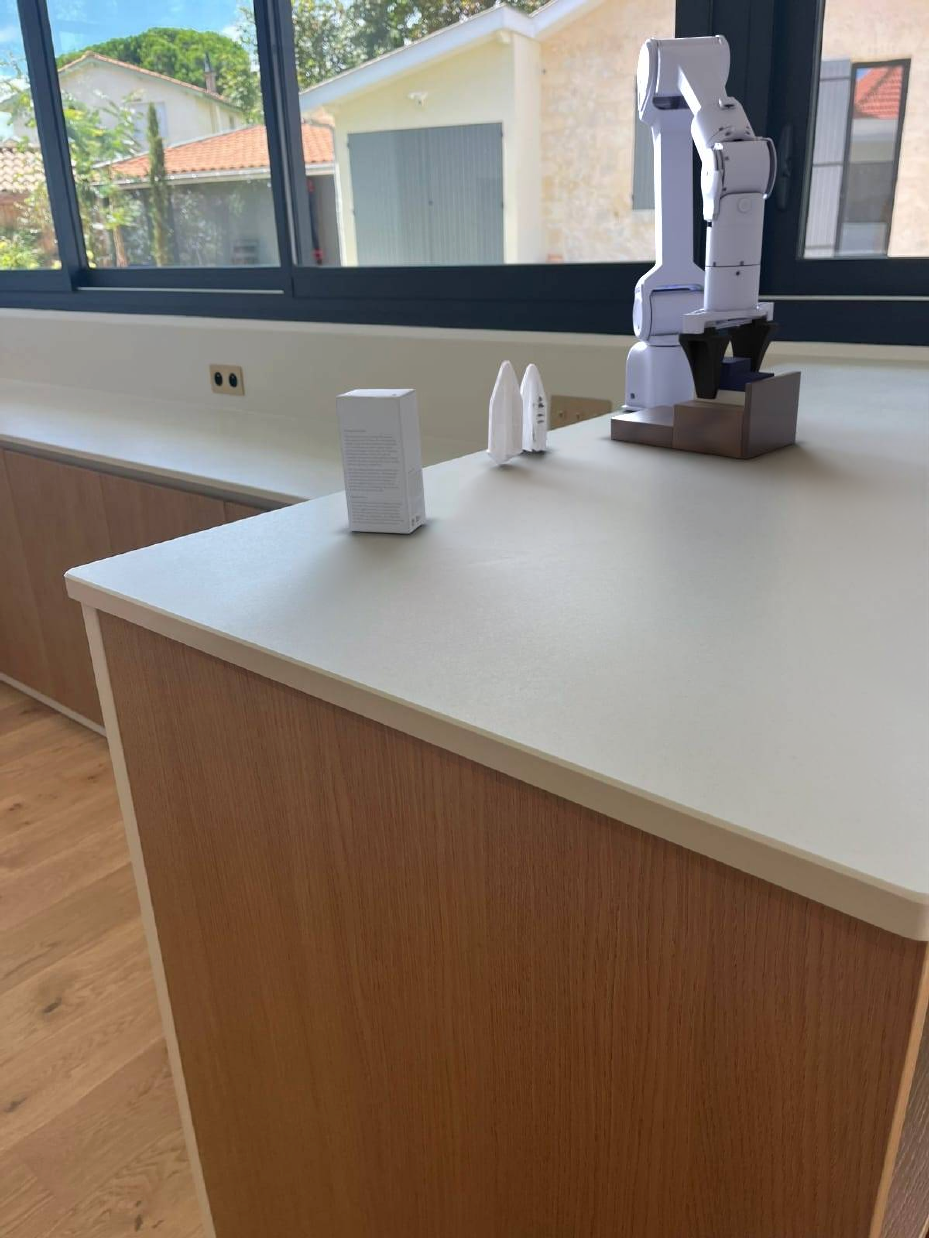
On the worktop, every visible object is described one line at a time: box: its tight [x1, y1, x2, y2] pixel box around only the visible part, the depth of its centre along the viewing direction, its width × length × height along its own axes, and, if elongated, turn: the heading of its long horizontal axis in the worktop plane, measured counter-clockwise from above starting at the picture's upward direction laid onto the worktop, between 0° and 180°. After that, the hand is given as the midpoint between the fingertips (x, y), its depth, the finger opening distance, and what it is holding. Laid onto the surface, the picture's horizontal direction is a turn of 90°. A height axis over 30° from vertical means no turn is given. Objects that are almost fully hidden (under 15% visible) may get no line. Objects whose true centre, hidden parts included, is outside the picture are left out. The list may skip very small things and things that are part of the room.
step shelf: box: [610, 370, 802, 460], centre depth 110 cm, size 19×10×8 cm, turn 43°
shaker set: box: [486, 360, 548, 466], centre depth 106 cm, size 12×4×11 cm, turn 152°
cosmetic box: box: [334, 388, 427, 534], centre depth 83 cm, size 6×4×12 cm
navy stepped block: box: [693, 356, 775, 406], centre depth 106 cm, size 8×4×4 cm, turn 43°
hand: (725, 393), depth 107 cm, fingers open, 7 cm apart
